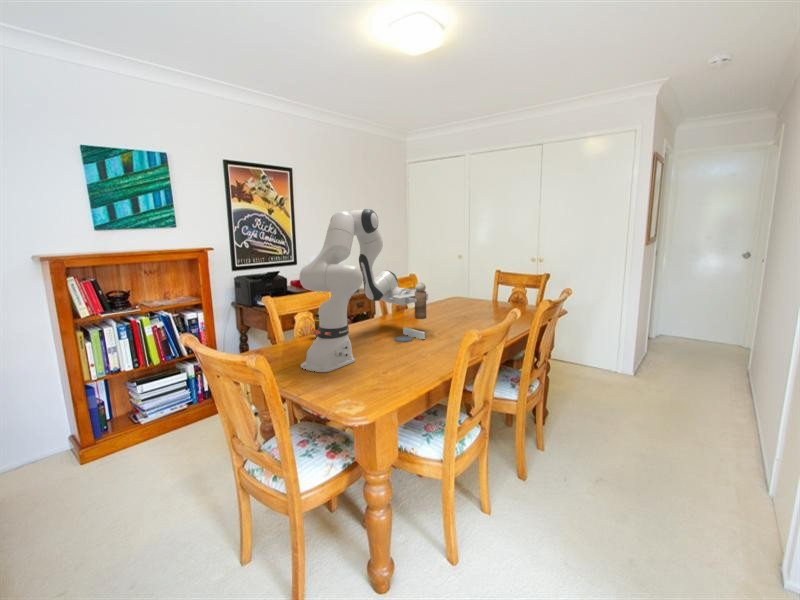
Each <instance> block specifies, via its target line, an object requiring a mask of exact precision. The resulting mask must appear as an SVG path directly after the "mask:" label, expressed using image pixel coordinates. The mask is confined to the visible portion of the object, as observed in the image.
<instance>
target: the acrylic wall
mask: <svg viewBox="0 0 800 600" xmlns="http://www.w3.org/2000/svg"><path fill="white" fill-rule="evenodd" d="M402 332H403V333H402V335H403V336H407V335H408V336H412V337H413V338H414V337H416V338H415V339H418V338H419V339H418V340H421V339H425V340H426V332H425V331H420V330H417V329H414V328H410V327H406V326H404V327H402Z"/></svg>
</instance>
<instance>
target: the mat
mask: <svg viewBox="0 0 800 600" xmlns="http://www.w3.org/2000/svg"><path fill="white" fill-rule="evenodd" d="M393 340H394V341H395V342H397V343H409V341H410V342H412V340H413V341H414V337H411V336H407V335H399V336H398V335H397V336H395V337H394V339H393Z"/></svg>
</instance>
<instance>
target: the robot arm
mask: <svg viewBox="0 0 800 600" xmlns="http://www.w3.org/2000/svg"><path fill="white" fill-rule="evenodd" d="M378 227H379V217H378V215H377V213H376V212H375V211H374V210H373V209H370V208H364V209H354V210H353V209H352V210H346V211H343V210H342V211H337V212H335V213H334V214H333V215H332V216H331V218H330V220H329V224H328V227H327V230H326V235H325V240H324V242H323V246H322V249H321V250H320V252H319V253H318V255H317V256H316V257H315V258H314V259H313V260H312V261H311V262H310V263H308V264H307V265H304V266H303V267H302V268H301V270H300V272H299V275H298V277H299V283H300V285H301V286H302V288H303V289H305V290H309V291H312V292H321V293H322V292H325V293H329V292H330V298H329V299H328V300H326V301H325V300H324V302H323V303H321V304H320V306H319V307H318V313H319V325H320V326H319V327H318V330H315V329H313V330H312V335H314V336H315V335H317V338H316V339H314V341H313V343H311V345H310V347H309V348H308V350H307V351H306V357H305V358H306V359H305V361H304V362H301V364H300V368H301V369H302V368H303V369H302V370H305V369H306V371H309V372H310V371H311V372H314V371H315V372H317V373H330V372H332V371H335V370H338V369H340V368H342V367H345V366H347V365H349V364H352V363H355V362H356V358H355V357H354V355H353V350H352V343H351V342H352V341H351V340H350V337H349V333H350V332H349V324H348V306H349V302H350V299H351V297H352V296H353V295H354V294H355V293H356V292H357V291H358V290H360V288H361V287H362V284H363V290H364V291H363V292H364V294H365V297H366V298H367V299H368V300H370V301H372V302H379V301H380V300H381V301H382V302H385V303H388V304H394V305H398V306H407V305H409V304H413V303H414V304H415V303H416V302H418V299H416V298H415V291H416V289H415V288H405V287H399V281H398V277H397V275H396V274H395V273H394V272H392V271H390V270H388V269H385V270H383V271H381V272H380V273H379V274H378V275H377V276H376V277H375V276H374V272H373V266H374V263H375V261H376V259H377V257H378V256H379V255H380V253H381V251H382V249H383V245H384V244H383V238H382V236H381V233H380V230H379V228H378ZM354 236H356V238H357V242H358V245H359V256H358V265H359V267H358V266H357V265H352V264H347V263H342V262H344V261H345V260H347V259H348V257H350V254H351V251H352V245H353V241H354ZM340 263H341V264H340ZM428 299H429V293H428V292H427V291H426V302H427V301H428ZM315 372H314V373H315Z"/></svg>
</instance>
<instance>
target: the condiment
mask: <svg viewBox="0 0 800 600" xmlns="http://www.w3.org/2000/svg"><path fill="white" fill-rule="evenodd" d="M319 326H320V325H319V312H318V313H317V312H316V313H315V314H314V330H318V327H319ZM314 337H316V338H317V335H314Z"/></svg>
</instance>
